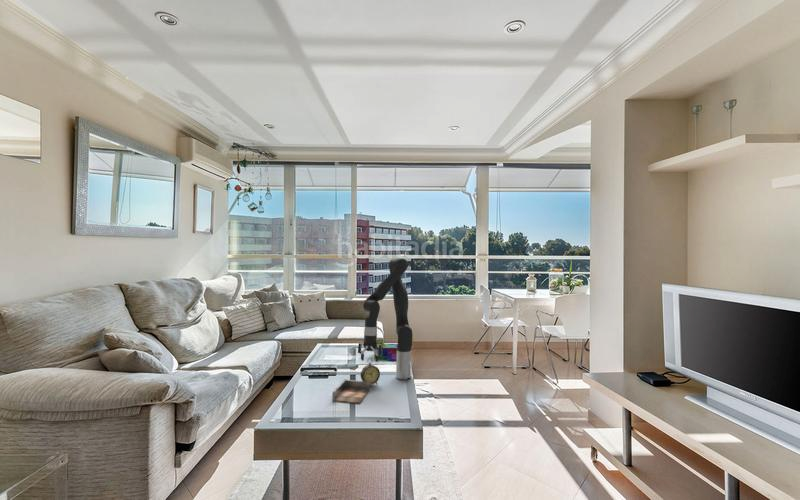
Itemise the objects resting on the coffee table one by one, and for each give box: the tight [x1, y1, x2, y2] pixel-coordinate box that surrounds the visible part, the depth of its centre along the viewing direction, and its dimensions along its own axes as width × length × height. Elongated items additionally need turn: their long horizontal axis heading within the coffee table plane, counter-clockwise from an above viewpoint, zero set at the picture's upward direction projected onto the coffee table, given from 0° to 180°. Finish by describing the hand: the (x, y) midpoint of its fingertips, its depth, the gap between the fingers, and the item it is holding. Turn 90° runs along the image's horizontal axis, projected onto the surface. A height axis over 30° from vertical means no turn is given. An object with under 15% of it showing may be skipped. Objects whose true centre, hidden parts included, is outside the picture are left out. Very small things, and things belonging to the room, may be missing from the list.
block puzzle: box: [373, 337, 398, 362], centre depth 283 cm, size 25×17×14 cm
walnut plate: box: [331, 388, 370, 405], centre depth 210 cm, size 15×19×1 cm
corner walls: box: [331, 379, 371, 400], centre depth 210 cm, size 15×19×4 cm
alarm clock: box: [360, 357, 381, 386], centre depth 226 cm, size 11×5×16 cm, turn 117°
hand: (369, 361), depth 227 cm, fingers open, 8 cm apart
